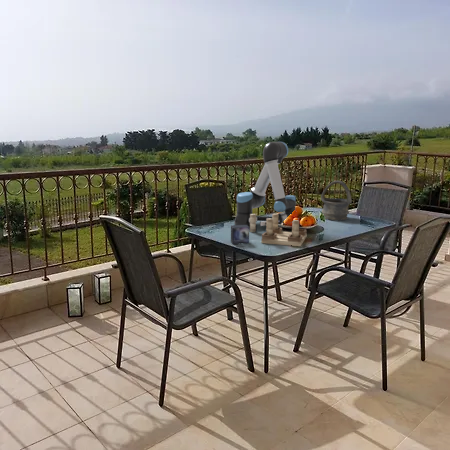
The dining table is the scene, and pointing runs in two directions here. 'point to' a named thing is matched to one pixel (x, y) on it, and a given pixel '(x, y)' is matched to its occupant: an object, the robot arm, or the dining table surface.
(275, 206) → the robot arm
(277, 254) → the dining table surface
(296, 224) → the upturned wooden stool
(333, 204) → the wicker basket
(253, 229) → the loose leg
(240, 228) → the small box
